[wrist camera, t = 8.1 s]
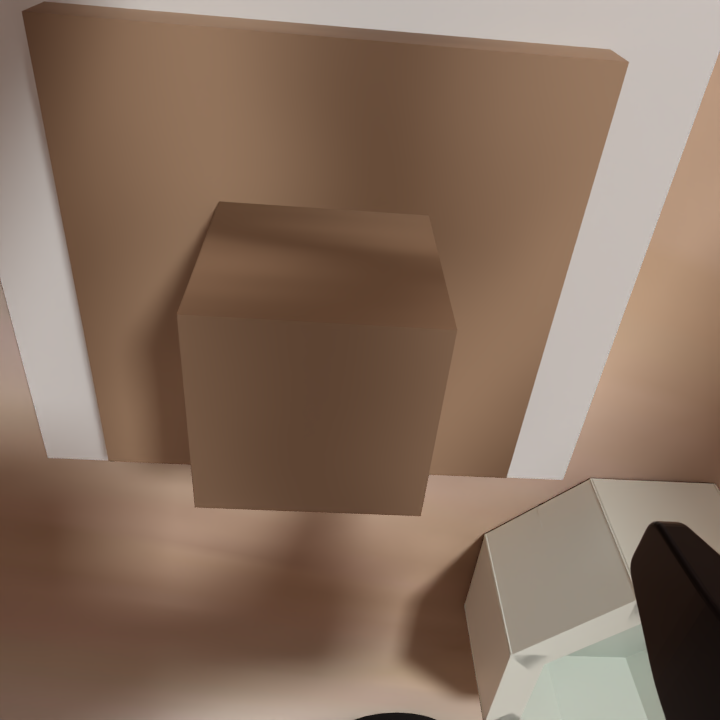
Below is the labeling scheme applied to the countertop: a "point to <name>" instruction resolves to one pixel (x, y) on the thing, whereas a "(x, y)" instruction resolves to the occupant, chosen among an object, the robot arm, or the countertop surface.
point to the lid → (315, 242)
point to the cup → (396, 717)
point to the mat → (405, 14)
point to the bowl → (574, 602)
